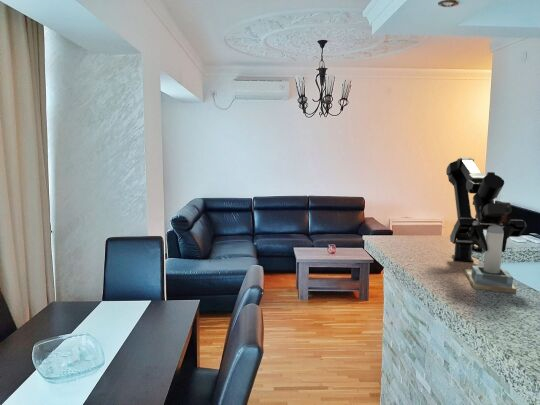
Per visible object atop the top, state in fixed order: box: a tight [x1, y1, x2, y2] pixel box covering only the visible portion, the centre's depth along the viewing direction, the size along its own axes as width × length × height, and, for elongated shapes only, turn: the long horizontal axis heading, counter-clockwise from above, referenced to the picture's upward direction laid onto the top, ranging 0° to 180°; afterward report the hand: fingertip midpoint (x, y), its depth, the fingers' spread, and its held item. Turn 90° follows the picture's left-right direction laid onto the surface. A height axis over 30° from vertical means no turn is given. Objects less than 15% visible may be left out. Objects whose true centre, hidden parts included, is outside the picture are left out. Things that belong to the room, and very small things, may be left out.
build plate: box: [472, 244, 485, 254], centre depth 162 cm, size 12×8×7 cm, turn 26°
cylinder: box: [483, 225, 504, 273], centre depth 118 cm, size 4×4×14 cm
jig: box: [464, 265, 517, 294], centre depth 121 cm, size 16×11×4 cm
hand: (495, 250), depth 117 cm, fingers closed on cylinder, 4 cm apart
